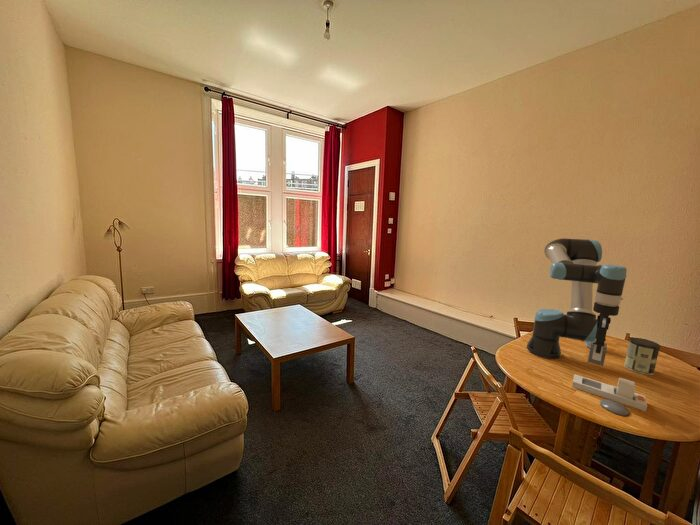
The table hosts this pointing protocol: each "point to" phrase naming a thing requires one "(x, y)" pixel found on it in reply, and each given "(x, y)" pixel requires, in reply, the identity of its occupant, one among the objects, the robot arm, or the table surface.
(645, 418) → the table surface
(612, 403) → the grey disc
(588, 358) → the block
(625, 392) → the white plug
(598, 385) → the strip
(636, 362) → the coffee can
